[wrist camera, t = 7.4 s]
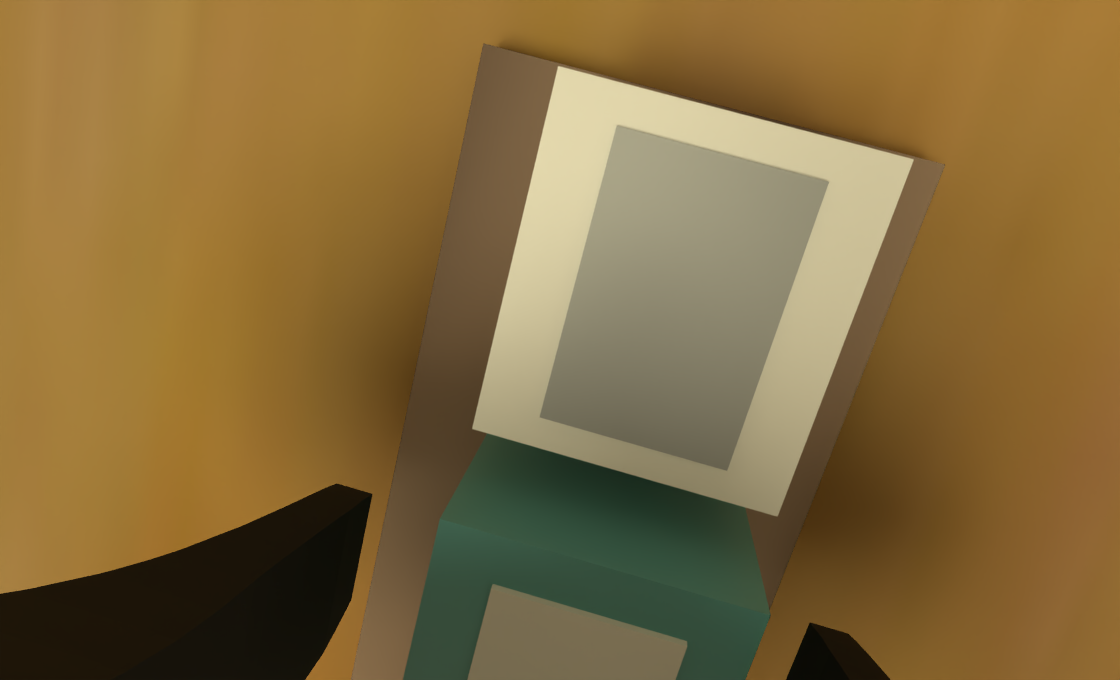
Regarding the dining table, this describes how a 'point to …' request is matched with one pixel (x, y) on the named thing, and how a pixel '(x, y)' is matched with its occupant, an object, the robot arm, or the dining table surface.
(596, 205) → the block
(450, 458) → the mounting board
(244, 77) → the dining table surface
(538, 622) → the block
